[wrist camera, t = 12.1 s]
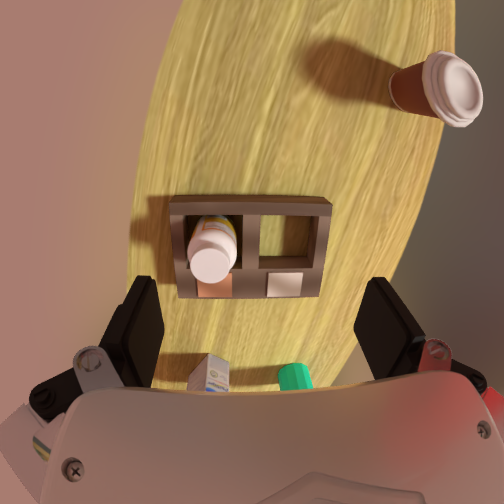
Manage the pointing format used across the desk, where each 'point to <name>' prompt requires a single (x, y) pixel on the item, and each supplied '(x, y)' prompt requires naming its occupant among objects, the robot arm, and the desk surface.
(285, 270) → the socket block
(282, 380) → the candle
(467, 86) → the coffee cup
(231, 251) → the supplement bottle
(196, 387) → the medicine box
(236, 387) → the desk surface
